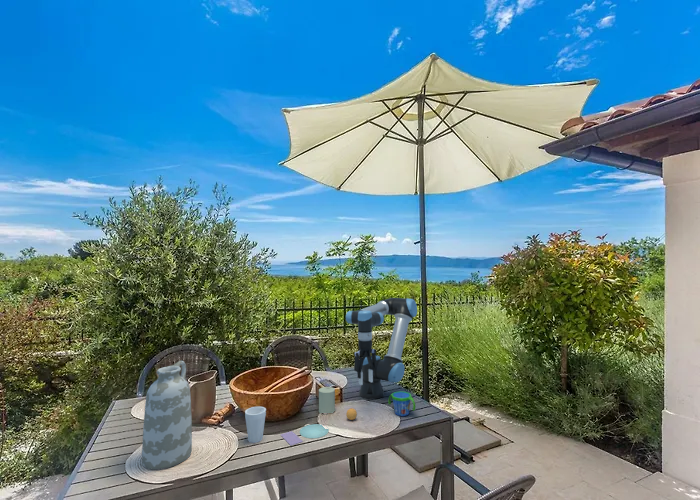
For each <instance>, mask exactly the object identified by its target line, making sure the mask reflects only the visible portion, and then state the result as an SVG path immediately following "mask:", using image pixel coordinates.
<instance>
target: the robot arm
mask: <svg viewBox="0 0 700 500" xmlns="http://www.w3.org/2000/svg"><path fill="white" fill-rule="evenodd" d="M386 315H388V316H394V318H395V320H394V321H395V322H394V324H393V330H392V333H391V338H390V342H389V344H388V345H389V346H388V349H387V354H385V355H384V356H383V359H381V356H379V355H377V354H376V353H377V349H374V348H373V340H372V339H373V327H376V326H380V325H382V324H383V323H384V320H385V319H384V318H385V317H384V316H386ZM417 315H418V306H417V302H416V301H415V299H413V298H405V297H402V298H401V297H400V298H399V297H389V298H387V299H383V300H379V301H378V302H377V303H375V304H373V305H369V306H367V307H364V308H362V309H357V310H349V311H347V312H346V315H345V320H346V321H345V322H347V324H351V325H357V326H358V327H357V328H358V329H357V333H358V334H357V339H358V340H357V341H358V351H354V352H353V356H354V363H353V364H354V365H353V366H354V369H353V371H354V372H357V374H356V375H357V379H358V384H359V385H360V388H359V393H358V394H359V396H360V397H362V398H365V399H371V400H373V399H379V398H382V397H384V394H385V393H384V388H383V385H382V382H381V381H385V382H390V383H394V384H395V383H399V382H400V381H402V379H403V377H404V375H405V368H406V367H405V364H404V363H403V361H404V360H403V359H402V355H403V350H404V345H405V341H406V335H407V332H408V327H409V323H410V322H412V321H413V318H415V317H416V316H417Z"/></svg>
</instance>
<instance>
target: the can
mask: <svg viewBox="0 0 700 500" xmlns="http://www.w3.org/2000/svg"><path fill="white" fill-rule="evenodd" d="M335 394H336V388H335V387H331V386H324V387H323V386H322V387H320V388H319V389H318V413H319V414H321V413H332V414H333V412H334V411H335V412H336V395H335ZM335 412H334V413H335Z"/></svg>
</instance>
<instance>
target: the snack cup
mask: <svg viewBox="0 0 700 500" xmlns="http://www.w3.org/2000/svg"><path fill="white" fill-rule="evenodd" d="M414 399H415V398H413V396H412V394H411V393H410V392H407V391H403V390H401V391H399V390H398V391H395V392H392V393H391V394H390V395H389V396H388V401H387V402H388V403H387V404H388V406H389V405H391V404H392V405H393V409H394V413H395V415H397V416H399V417H405V416H408V415H409V413H410V408H411V402H412V411H415V410H416V403H415V402H416V401H415V400H414Z"/></svg>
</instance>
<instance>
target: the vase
mask: <svg viewBox="0 0 700 500" xmlns="http://www.w3.org/2000/svg"><path fill="white" fill-rule="evenodd" d="M180 372H181V373H180ZM156 374H157V376H158V378H157V379H156V380H155V381H153V383H151V385H150V386H149V388H148V389H147V392H146V395H145V396H146V397H145V402H144V405H145V406H144V417H143V427H142V428H143V429H142V442H141V447H142V449H141V464H142V467H144V468H146V469H147V470H153V471H155V470H162V469H163V470H164V469H168V468H172V467H175V466H177V465H179V464H181V463H183V462H185V461H186V460H188V458H189V457H190V456H191V454H192V452H193V448H192V447H193V444H192V443H193V440H192V439H193V434H192V433H193V429H192V427H193V425H192V422H193V421H192V401H191V400H192V397H191V389H190V388H191V387H190V385H189V383H188V381H187V379H186V376H187V375H186V374H187V364H186V363H185V361H183V360H179V361H177V362H175V364H172V365H168V366H164V367H160V368H158V369H157V370H156Z"/></svg>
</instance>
